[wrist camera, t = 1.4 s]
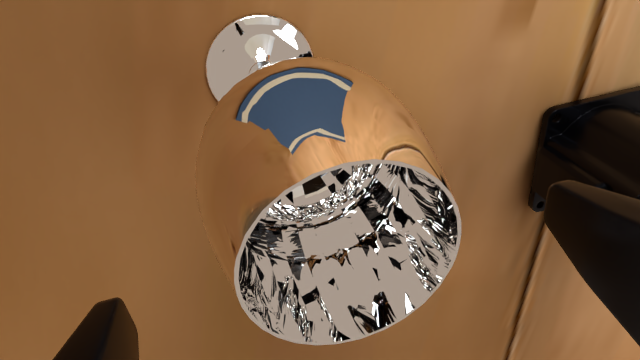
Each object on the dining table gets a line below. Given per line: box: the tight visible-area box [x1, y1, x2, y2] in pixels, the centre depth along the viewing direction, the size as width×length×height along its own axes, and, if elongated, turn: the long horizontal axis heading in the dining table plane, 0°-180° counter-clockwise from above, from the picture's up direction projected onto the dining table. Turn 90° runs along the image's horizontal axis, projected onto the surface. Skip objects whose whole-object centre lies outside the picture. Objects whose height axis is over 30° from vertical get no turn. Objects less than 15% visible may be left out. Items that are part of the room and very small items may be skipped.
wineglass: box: [195, 14, 461, 345], centre depth 14 cm, size 6×6×12 cm
